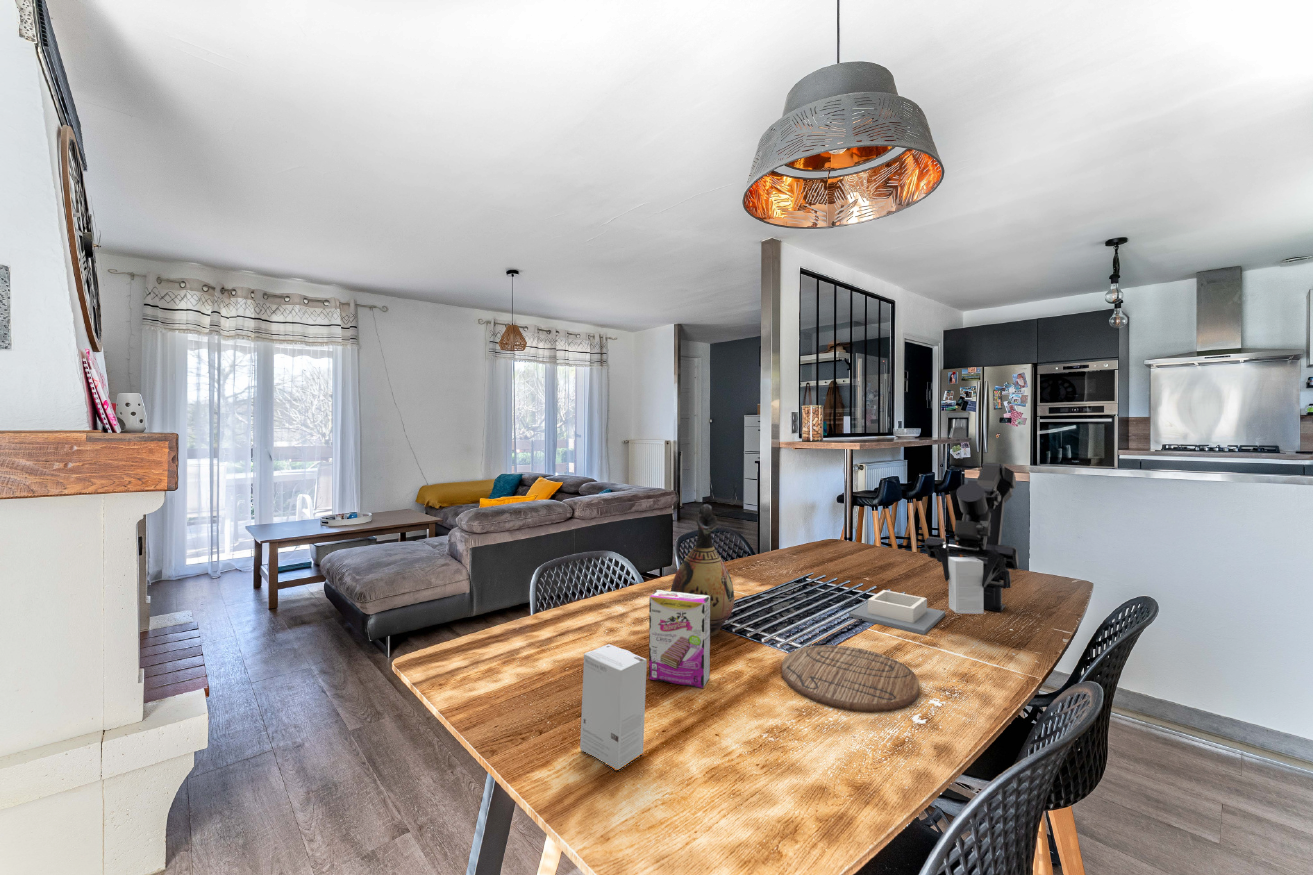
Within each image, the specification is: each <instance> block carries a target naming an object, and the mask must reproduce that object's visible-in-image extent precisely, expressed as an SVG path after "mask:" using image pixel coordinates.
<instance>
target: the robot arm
mask: <svg viewBox="0 0 1313 875" xmlns="http://www.w3.org/2000/svg"><path fill="white" fill-rule="evenodd" d="M1016 479H1017V478H1016V474H1015V471H1014V470H1012V469H1010V468H1008V467H1006V465H1005V463H1001V462H990V461H989V462H988V461H985V462H983V463H982V465H981V468H980V469H979V473H978V477H977V478H976V480H972V479H971V480H970V479H969V480H967V483H965V484H964V483H963V484H962V485H960V486H959V487H957V490H956V497H957V500H958V504H959V509H960V511H961V513H962V514H963V515H962V518H961V520H955V524H954V533H953V534H954V535H955V537H954V541H955V543H957V544H949V543H947V542H946V540H945V538H943V537H937V536H936V537H934V536H928V537H926V538H925V539H924V543H923V544H924V549H925V551H926V555H927V557H928V558H930V559H934V560H936V561H937V562H938V563H941V564H942V569H943V575H944V581H945V582H948V583H949V566H948V557H950V554H952V555H961V556H962V557H963V556H965V557H975V558H977V559H979V560H981V561H983V580H982V587H983V597H984V610H988V611H993V612H998V613H1001V612H1002V611H1003V610H1004V609H1005V607H1006V604H1003V603H1002V602H1003V598H1002V597H1003V589H1005V590H1006V589H1011V588H1012V586H1011V585H1012V579H1011V573H1010V571H1009V570H1013V571H1016V570H1019V564H1020V563H1019V562H1020V561H1019V555H1018V554H1019V553H1018V549H1017V548H1016V547H1015V546H1012V545H1011V546H1010V545H1002V544H1001V542H1002V533H1003V532H1002V531H1003V525H1004V524H1003V523H1004V512H1005V504H1006V503H1007V502H1008V501H1009V500H1010V499H1011V498H1012V497H1013V490H1015V489H1016V486H1017V484H1016V483H1017V480H1016Z"/></svg>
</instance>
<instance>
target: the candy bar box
mask: <svg viewBox="0 0 1313 875" xmlns="http://www.w3.org/2000/svg"><path fill="white" fill-rule="evenodd" d="M648 602H649V603H648V604H649V606H648V608H649V610H648V611H649V614H648V615H649V617H648V619H649V621H648V623H649V625H648V626H649V627H648V630H649V632H648V638H649V641H648V642H649V643H648V644H649V645H648V647H649V648H648V650H649V651H648V652H649V653H648V679H649V680H652V681H657V682H663V681H664V682H665V683H671V684H675V685H681V686H688V687H694V688H699V689H700V688H701V689H704V688H705V687H704V686H706V684H707V682H708V681H709V679H710V677H711V676H710V672H711V668H710V664H711V663H710V661H711V660H710V658H711V656H710V655H711V653H710V652H711V650H710V649H711V648H710V647H711V636H710V596H707V595H699V594H690V593H681V592H673V591H671V590H662V589H656V590H655V591H654V592H653V593H652V594H650V596H649V601H648Z"/></svg>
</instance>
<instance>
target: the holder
mask: <svg viewBox="0 0 1313 875" xmlns="http://www.w3.org/2000/svg"><path fill="white" fill-rule="evenodd" d="M867 602H868V613H871V614H875V615H880V616H884V617H889V618H893V619H897V620H902V621H906V622H911V623H914V622H915V621H916V620H917V619H919V618H920V617H921V616H922V615H924V614H925V613H926V612H927V608H928V598H926V597H922V596H917V595H911V594H907V593H901V592H897V591H890V590H885V589H882V590H881V591H879V592H878V593H876V594H874V595H873V596H871V597H870V598H867Z"/></svg>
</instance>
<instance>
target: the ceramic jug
mask: <svg viewBox="0 0 1313 875" xmlns="http://www.w3.org/2000/svg"><path fill="white" fill-rule="evenodd" d="M712 510H713V507H712V505H710V504H707V503H706V504H703V505H701V506H700V507H699V511H698V513H699V514H698V515H697V517H696V518H697V519H696V525H697V538H696V541H695V546H694V547H693V548H692V549H691V550H690V552H688V555H687V556H686V557H685V558H684V559H683V561H682V563H681V564H680V566H679V567H678V569H677V571H676V573H675V575H674V578H673V581H672V584H671V588H670V591H673V592H681V593H690V594H699V595H707V596H710V637H714V636H716V635H717V634H719V632H720V629H721V628H722V627H723V625H724V624H725V623H726V622H727V621H728V619H730V617H731V615H732V613H733V608H734V605H735V590H734V585H733V581H732V577H731V575H730V573H729V571H728V569H727V567H726V565H725V564H724V562H723V560H722V557H721V556H720V554H719V553H718V551H717V550H716V549H715V545H714V543H713V539H712V537H711V536H712V531H715V530H716V528H717V524H718V521H717V517H716V515H713V514H712V513H713V511H712Z"/></svg>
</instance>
